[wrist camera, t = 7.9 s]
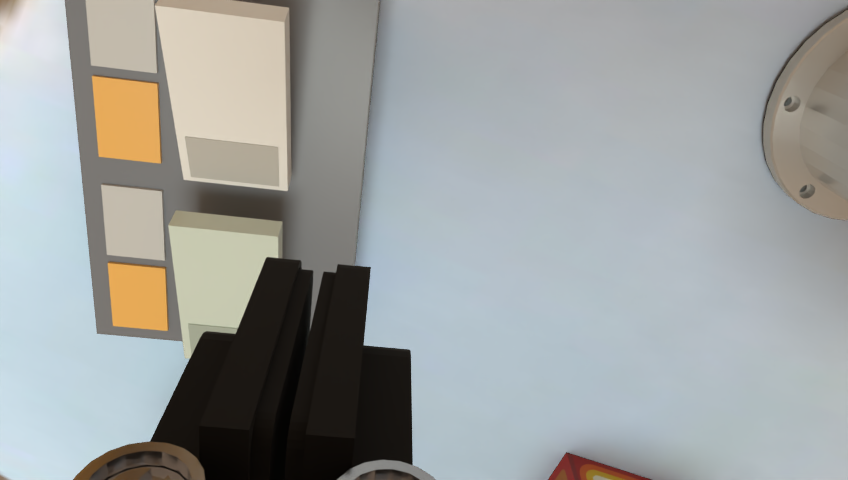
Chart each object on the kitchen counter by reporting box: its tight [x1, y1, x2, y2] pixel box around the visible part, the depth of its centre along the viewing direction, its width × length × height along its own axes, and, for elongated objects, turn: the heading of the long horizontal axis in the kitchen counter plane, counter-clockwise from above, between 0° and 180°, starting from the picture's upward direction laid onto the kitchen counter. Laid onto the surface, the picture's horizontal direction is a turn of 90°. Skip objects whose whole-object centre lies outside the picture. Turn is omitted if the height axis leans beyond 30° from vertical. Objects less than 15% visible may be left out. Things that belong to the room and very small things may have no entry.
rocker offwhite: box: [155, 0, 291, 191], centre depth 30 cm, size 5×9×1 cm, turn 173°
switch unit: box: [65, 0, 380, 341], centre depth 35 cm, size 14×20×5 cm
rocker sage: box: [168, 210, 282, 358], centre depth 34 cm, size 5×9×1 cm, turn 173°
